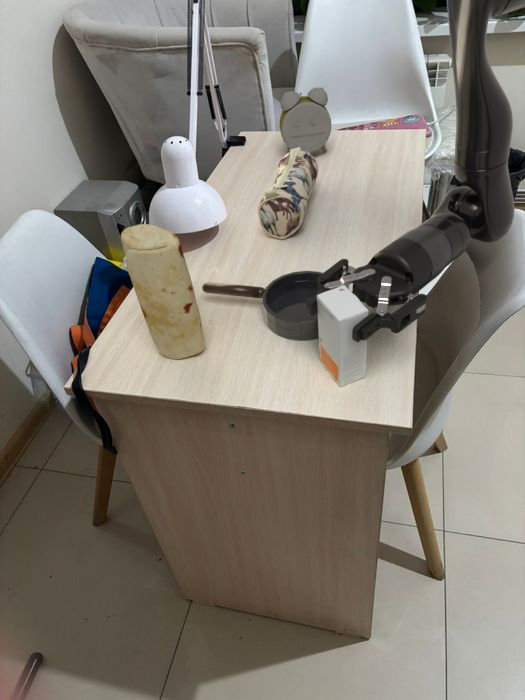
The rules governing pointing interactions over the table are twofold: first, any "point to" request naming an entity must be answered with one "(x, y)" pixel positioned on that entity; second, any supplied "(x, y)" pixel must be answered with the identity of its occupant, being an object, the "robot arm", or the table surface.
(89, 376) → the table surface
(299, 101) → the alarm clock
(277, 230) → the pencil case
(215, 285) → the pan handle
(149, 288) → the food model
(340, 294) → the cosmetic box
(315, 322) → the frying pan
